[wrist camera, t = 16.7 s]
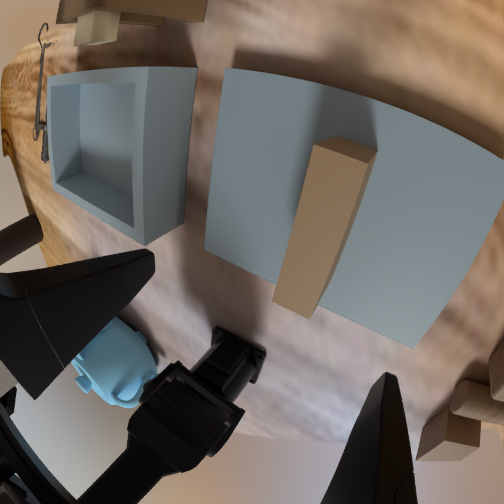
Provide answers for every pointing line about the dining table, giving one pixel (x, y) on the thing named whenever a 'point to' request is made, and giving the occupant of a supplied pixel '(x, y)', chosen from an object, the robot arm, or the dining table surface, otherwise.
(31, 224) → the bottle
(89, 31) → the wooden key
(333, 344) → the dining table surface
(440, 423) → the wooden block set
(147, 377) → the decorative pot
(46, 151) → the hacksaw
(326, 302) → the lid
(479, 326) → the dining table surface
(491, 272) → the dining table surface
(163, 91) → the toolbox
